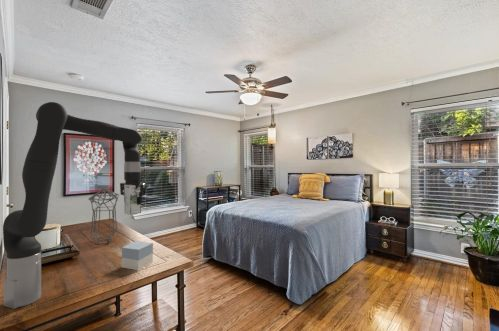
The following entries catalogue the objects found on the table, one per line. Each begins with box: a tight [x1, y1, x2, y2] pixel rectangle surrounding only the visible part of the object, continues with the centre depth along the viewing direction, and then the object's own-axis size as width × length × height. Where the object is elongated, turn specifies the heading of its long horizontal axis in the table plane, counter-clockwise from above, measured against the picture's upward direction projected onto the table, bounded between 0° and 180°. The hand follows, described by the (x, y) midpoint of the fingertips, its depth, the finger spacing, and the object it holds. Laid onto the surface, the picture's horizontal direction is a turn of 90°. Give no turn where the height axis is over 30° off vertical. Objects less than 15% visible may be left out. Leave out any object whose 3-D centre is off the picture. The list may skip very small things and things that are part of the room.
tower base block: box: [121, 252, 154, 271], centre depth 120 cm, size 10×10×5 cm
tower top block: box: [121, 240, 154, 260], centre depth 120 cm, size 10×10×5 cm
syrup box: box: [124, 185, 142, 216], centre depth 119 cm, size 6×6×14 cm
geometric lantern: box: [88, 187, 120, 245], centre depth 154 cm, size 16×16×35 cm
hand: (133, 203), depth 119 cm, fingers closed on syrup box, 7 cm apart
